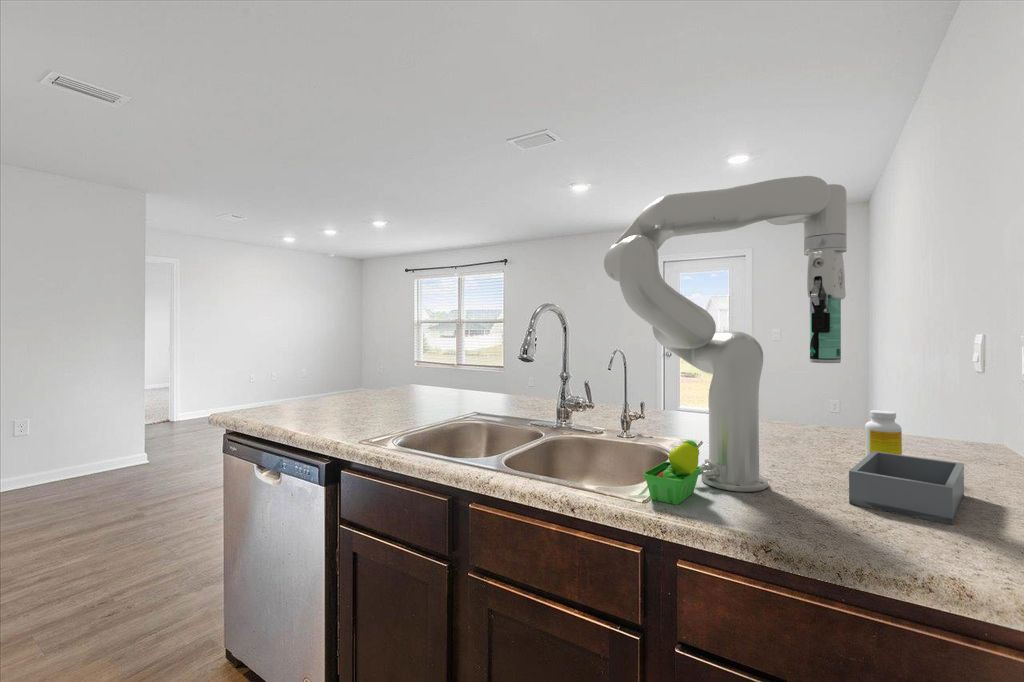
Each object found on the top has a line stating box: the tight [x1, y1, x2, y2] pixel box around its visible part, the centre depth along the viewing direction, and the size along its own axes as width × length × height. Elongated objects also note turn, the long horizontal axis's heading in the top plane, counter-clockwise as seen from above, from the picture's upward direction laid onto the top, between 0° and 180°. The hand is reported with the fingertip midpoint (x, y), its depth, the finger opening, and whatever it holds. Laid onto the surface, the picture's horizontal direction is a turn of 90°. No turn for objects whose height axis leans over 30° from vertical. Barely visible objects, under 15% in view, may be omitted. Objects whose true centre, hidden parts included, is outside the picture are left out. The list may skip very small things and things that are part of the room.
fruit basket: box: [643, 439, 701, 506], centre depth 93 cm, size 11×9×11 cm
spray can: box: [809, 282, 842, 364], centre depth 102 cm, size 6×6×20 cm
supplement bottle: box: [864, 409, 903, 458], centre depth 110 cm, size 7×7×13 cm
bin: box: [848, 451, 965, 526], centre depth 90 cm, size 20×14×6 cm
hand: (824, 331), depth 102 cm, fingers closed on spray can, 5 cm apart
